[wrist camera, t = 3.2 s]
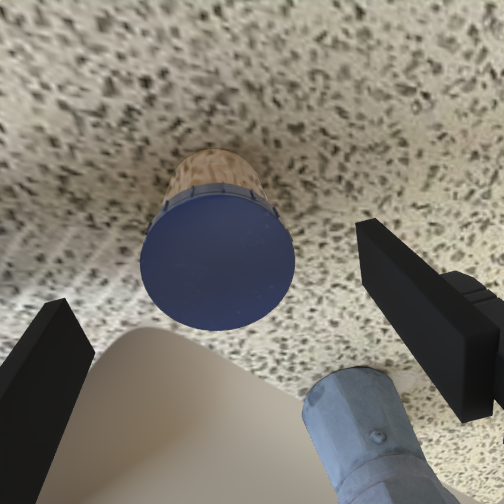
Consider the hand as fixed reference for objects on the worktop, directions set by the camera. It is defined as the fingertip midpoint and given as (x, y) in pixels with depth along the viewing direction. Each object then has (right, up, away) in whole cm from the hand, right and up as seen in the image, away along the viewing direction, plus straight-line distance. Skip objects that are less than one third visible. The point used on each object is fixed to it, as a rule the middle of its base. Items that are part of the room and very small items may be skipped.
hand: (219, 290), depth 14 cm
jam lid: (0, +1, +2) cm, 2 cm away
